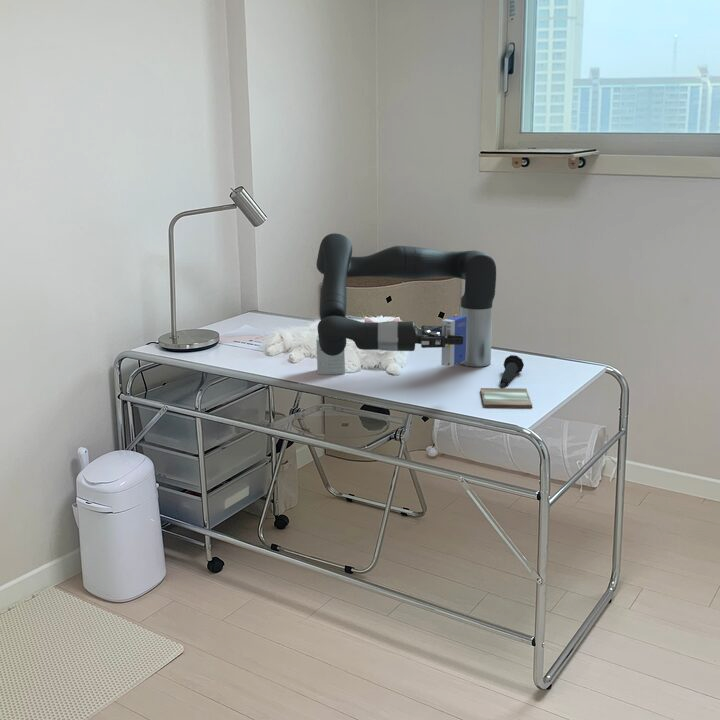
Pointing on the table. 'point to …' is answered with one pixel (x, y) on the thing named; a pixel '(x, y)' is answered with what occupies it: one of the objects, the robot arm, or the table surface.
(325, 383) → the table surface
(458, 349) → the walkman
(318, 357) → the small box
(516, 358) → the microphone
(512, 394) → the card
